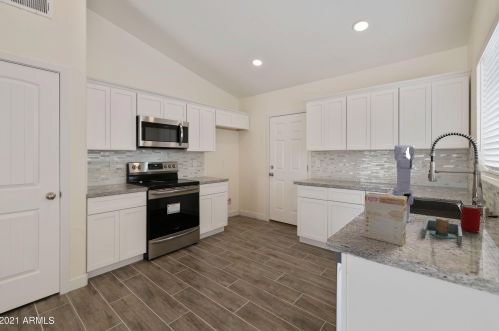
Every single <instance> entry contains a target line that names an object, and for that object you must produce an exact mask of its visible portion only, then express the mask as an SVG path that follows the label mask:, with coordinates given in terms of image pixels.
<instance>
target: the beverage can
mask: <svg viewBox="0 0 499 331" xmlns="http://www.w3.org/2000/svg"><path fill="white" fill-rule="evenodd" d="M481 211H482V210H481V209H480V207H479V206H476V205H469V204H467V205H465V204H463V207H461V211H460V225H461V230H462V231H464V232H468V233H475V234H476V233H478V232H480V227H481V213H482V212H481Z"/></svg>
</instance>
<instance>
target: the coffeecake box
mask: <svg viewBox="0 0 499 331" xmlns="http://www.w3.org/2000/svg"><path fill="white" fill-rule="evenodd" d="M363 209H364V216H363V218H364V219H363V237H364V238H369V239H372V240H377V241H381V242H384V243H385V242H386V243H389V244H392V245H398V246H401V247H402V246H403V245H404V244H405V243H406V240H407V237H406V236H407V222H406V218H407V197H405V196H395V195H392V194H386V193H385V194H384V193H377V192H376V193H375V192H368V193H365V194H364V208H363Z"/></svg>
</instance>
